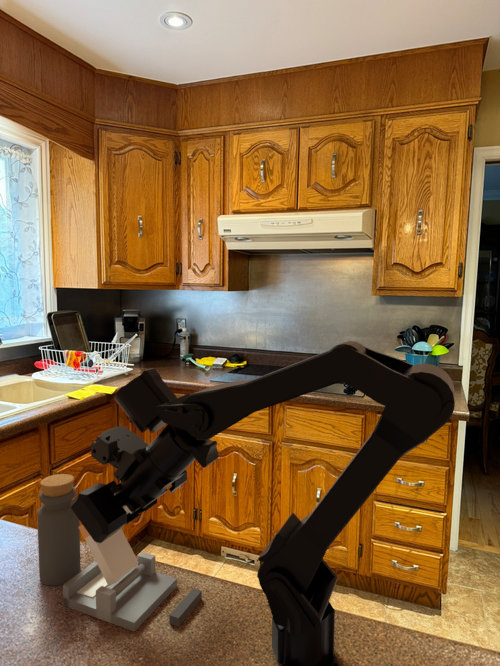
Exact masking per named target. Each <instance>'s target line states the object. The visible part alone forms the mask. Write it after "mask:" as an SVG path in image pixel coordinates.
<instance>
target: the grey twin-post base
mask: <svg viewBox="0 0 500 666" xmlns="http://www.w3.org/2000/svg"><path fill="white" fill-rule="evenodd" d="M137 560H138V562H139V563H138V564H137V565H136V566H135V567H134V568H132V569H131V570H130V571H129V572H128V573H127V574H125V575H124V576H123V577H122V578H121V579H120V580H118V581H117V582H116V583H114V584H112V585H110V586H108V584H107V582H106V580H105V578H104V576H103V574H102V572H101V570H100V568H99V566H98V564H97V562H96V560H94V561H93V562H92V563H90V564H89V565H88V566H86V567H85V568H84V569H82V570H80V573H78V574H77V575H76V576H74V577H73V578H72V579H70V580H69V581H68V582H66V583H65V584H62V599H63V600H62V602H63V603H62V605H63V606H64V607H66V608H68V609H72V610H74V611H77V612H78V613H79V612H80V613H82V614H85V615H88V616H90V617H93V618H95V619H99V620H100V621H101V620H102V621H104V622H107V623H110V624H113V625H114V626H118V627H121V628H124V629H126V630H129V631H131V632H136V630H138V628H140V626H141V625H142V624H143V623H144V622H145V621H146V620H147V619H148V618H149V617H150V616H151V615H152V614H153V613H154V612H155V610H156V609H157V608H158V607H159V606H160V605H161V604H162V603H163V602H164V601H165V600H166V599H167V598H168V596H169V595H171V594H172V593H173V592H174V590H175V589H176V588H178V578H176V577H173V576H170V575H167V574H164V573H160V572H156V554H155V555H154V554H151V553H148V552H144V551H142V552H140V553H139V554H138V555H137ZM140 564H144V565H145V568H146V570H145V571H144V572H143V573H142V574H141V575H140V576H139V577H138V578H137V579H135V580H134V581H133V582H132V583H131V584H130V585H129V586H128V587H127V588H125V589H124V590H123V591H122V592H121V593H120V594H119V595H118V596H117V597H116V590H113V589H112V588H113V587H114V586H115V585H117V584H118V583H119V582H120V581H121V580H122V579H124V578H125V577H126V576H127V575H128V574H129V573H130V572H132V571H133V570H134V569H135V568H136V567H137V566H139V565H140ZM164 599H165V600H164Z"/></svg>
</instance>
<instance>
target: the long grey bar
mask: <svg viewBox="0 0 500 666" xmlns="http://www.w3.org/2000/svg"><path fill="white" fill-rule="evenodd" d="M202 592H203V591H202V590H200V589H197V588H194V587H193V588H192V589H191V590H190V591H189V592H188V593H187V594H186V595H185V597H184V598H183V599H182V600H181V601H180V603H178V605H177V606H176V607H175V608H174V609H173V611H172V612H171V613H170V614H169V615H168V616H169V618H168V619H169V625H172V626H176V627H180V626H181V624H182V623H183V622H184V621H185V620H186V619H187V618H188V617H189V615H190V614H191V612H192V611H193V610H194V609H195V607H196V606H198V604H199V603H200V602H201V601H202V598H203V596H202V595H203V593H202Z"/></svg>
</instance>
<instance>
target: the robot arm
mask: <svg viewBox="0 0 500 666" xmlns="http://www.w3.org/2000/svg"><path fill="white" fill-rule="evenodd" d="M342 382H343V383H345V384H347V385H349V386H350V387H353V388H354V389H356V390H357V391H359V392H361V393H362V394H363V395H365V396H366V397H368V398H369V399H371V400H372V401H373V402H376V403H377V404H380V405H381V406H383V407H384V408H383V411H382V413H381V414H380V416H379V419H378V421H377V423H376V425H375V427H374V429H373V431H372V432H371V433H370V435H369V436H368V438H367V439H366V440H365V441H364V442H363V444H362V445H361V447H360V448H359V449H358V451H357V452H356V453H355V455H354V456H353V458H351V460H350V461H349V462H348V464H347V465H346V466H345V468H344V469H343V470H342V471H341V473H340V474H339V475H338V477H337V478H336V479H335V481H334V482H333V483H332V485H331V486H330V487H329V489H328V490H327V491H326V493H325V494H324V495H323V496H322V498H320V501H319V502H318V503H317V504H316V506H315V507H314V508H313V510H312V511H311V512H310V513H309V514H308V515H307V516H305V517H303V518H302V519H300V518H298V517H297V516H296V514H295V512H292V513H291V514H290V515H289V517H288V518H287V519H286V521H285V522H284V524H283V525H282V526H281V527H280V529H279V530H278V531H277V532H276V533H275V535H274V536H273V537H272V539H271V540H270V541H269V542H268V543H267V545H266V547H265V548H264V550H263V551H262V552H261V554H260V555H259V557H258V558H257V560H258V562H261V564H260V566H259V568H258V570H257V574H256V576H257V577H256V578H257V579H258V582H259V586H260V588H261V590H262V592H263V593H264V595H265V597H266V599H267V604H268V607H269V609H270V612H271V616H272V617H271V649H272V651H273V655H274V658H275V660H276V662H277V664H278V665H280V666H341V665H340V662H339V660H338V658H337V657H336V655H335V628H336V627H335V623H336V620H335V619H336V610H335V609H334V606H333V605H332V604H331V602H330V599H331V597H332V595H333V592H334V589H335V587H336V584H337V581H339V580H338V579H339V577H338V575H337V574H336V573H335V572H334V570H333V569H332V568H331V567H330V565H329V564H328V563H327V562H326V561H325V560H324V557H325V554H327V553H326V552H327V551H328V549H329V547H330V546H331V545H333V544H332V543H334V541H335V540H336V539H337V538H338V536H339V535H340V534H341V532H342V531H343V530H344V529H345V527H346V526H347V525H348V524H349V523H350V522H351V520H352V519H353V517H354V516H356V514H357V512H358V511H359V510H360V509H361V507H363V505H364V504H365V503H366V502H367V500H368V499H369V498H370V497H371V495H372V494H373V492H374V491H375V490H376V489H377V487H378V486H379V485H380V484H381V482H383V480H384V479H385V477H386V476H387V475H388V474H389V473H390V471H391V470H392V469H393V467H395V465H396V464H397V462H398V461H399V460H400V459H401V458H403V456H405V455H406V454H407V453H409V452H411V451H412V450H414V449H415V448H417V447H418V446H420V445H422V444H423V443H424V442H425V441H427V440H428V439H429V438H430V437H432V436H433V434H435V433H436V432H438V431H439V430H440V429H441V428H442V427H443V426H445V425H446V424H447V423H448V422H449V421H450V419H451V418H452V415H453V413H454V411H455V407H456V406H455V404H456V403H455V402H456V401H455V399H456V396H455V388H454V387H455V386H454V382H453V380H452V378H451V377H450V375H449V374H448V373H447V372H446V371H445V370H444V369H443V368H441V367H439V366H437V365H434V364H430V363H419V364H412V363H409V362H407V361H405V360H403V359H400V358H398V357H394V356H391V355H388V354H385V353H383V352H379V351H376V350H373V349H372V348H369V347H367V346H364V345H363V344H361V343H359V342H358V341H352V340H347V341H343V342H341V343H339V344H337V345H335V346H333V347H332V348H331V349H329V350H327V351H323V352H322V353H317V354H316V355H313V356H310V357H309V358H305V359H303V360H301V361H298V362H295V363H293V364H290V365H287V366H285V367H283V368H280V369H277V370H275V371H272V372H269V373H267V374H264V375H261V376H259V377H256V378H252V379H246V380H238V381H230V382H224V383H220V384H215V385H212V386H209V387H207V388H204V389H202V390H199V391H197V392H194V393H187V394H184V395H182V396H179V397H177V395H176V393H174V392H173V391H172V390H171V389H170V387H169V385H167V383H166V382H165V381H164V379H163V378H162V377H161V374H160V373H159V372H158V370H157V369H155V368H153V367H151V368H148V369H144V371H142V373H141V374H140V375H138V376H136V377H135V378H133V379H132V380H130V381H129V382H128V383H127V384H125V385H124V386H121V387H120V388H119V389H118V390H117V392H116V393H115V395H114V401H115V402H116V403H117V405H118V406H119V407H120V409H122V411H123V412H124V413H125V415H126V416H127V417H128V418H129V419H130V421H131V422H132V423H133V425H134V426H135V428H137V430H138V431H139V432H141V434H143V433H144V432H146V431H147V430H148V431H149V432H150V433H151V434H153V433H156V432H157V431H159V430H160V429H162V428H163V429H162V430H161V431H160V432H159V433H158V434H157V436H156V437H154V439H153V440H152V441H151V442H150V443H149V444H148V443H147V442H145V440H144V439H143V438H142V437H140V436H139V435H137V433H135V432H133V431H132V430H130V429H129V428H127V427H125V426H122V425H119V426H114V427H113V428H110V429H108V430H106V431H103V432H102V433H101V434H100V435H98V436H97V437H96V439H95V441H93V442H91V444H90V445H91V446H90V447H91V449H90V454H91V457H92V458H93V459H94V460H96V461H97V462H99V463H100V464H101V465H102V466H105V465H107V464H108V465H110V466H111V467H113V468H115V469H116V470H115V471H114V472H113V476H114V477H115V478H116V480H117V481H118V482H120V483H118V484H117V482H116V481H115V480H112V481H110V482H108V483H105V484H104V483H101V482H98V483H96V484H93V485H92V486H90V487H87V488H86V489H84V490H82V491H81V492H78V494H76V496H75V497H74V498H73V499H72V500H73V501H72V502H71V509H72V510H73V512H74V513H75V515H76V516H77V517H78V519H79V523H81V525H82V524H83V526H84V527H85V529H86V530H87V532H88V533H89V534H90V536H91V537H92V539H93V540H94V541H95V542H98V543H102V542H103V541H105V540H106V539H107V538H109V537H110V536H112V535H113V534H114V533H116V532H117V531H118V530H119V529H120V528H121V529H122V528H123V527H124V526H125V525H128V524H130V523H131V522H133V521H135V520H136V518H139V517H140V516H141V515H140V514H141V513H144V512H146V511H148V510H150V509H151V508H153V507H154V506H155V505H157V504H158V499H159V498H160V497H162V496H164V494H165V493H166V492H169V493H170V494H173V492H176V490H178V489H180V488H181V487H182V486H183V485H184V484H185V483H186V482H187V481H188V471H187V470H186V469H187V468H189V466H190V465H191V464H192V463H193V462H194V461H195V460H196V462H197V463H198V464H199V465H200V466H201V467H202V468H207V467H208V466H209V465H211V464H212V463H214V462H215V461H217V460H218V459H219V451H218V447H217V445H218V441H217V440H212V438H213V437H215V436H217V435H219V434H221V433H222V432H223V431H225V430H227V429H228V428H230V427H232V426H234V425H236V424H237V423H239V422H241V421H243V420H244V419H245V418H247V417H249V416H251V415H252V414H254V413H257V412H259V411H263V410H265V409H268V408H271V407H273V406H276V405H280V404H282V403H285V402H287V401H290V400H293V399H296V398H298V397H299V398H300V397H302V396H305V395H308V394H310V393H312V392H316V391H318V390H322V389H323V388H326V387H331V386H332V385H335V384H339V383H342ZM165 425H166V426H165ZM169 486H170V488H169ZM167 488H169V489H167Z"/></svg>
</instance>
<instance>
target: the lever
mask: <svg viewBox="0 0 500 666" xmlns="http://www.w3.org/2000/svg"><path fill="white" fill-rule="evenodd" d="M78 528H79V530H80V535H81V536H82V537H83V539H84V540H85V542H86V544H87V546H88V548H89V550H90V552H91V554H92V557H93V558H94V561H96V562H97V564H98V566H99V568H100V570H101V572H102V574H103V576H104V578H105V580H106V582H107V584H108V586H110V585H112V584H114V583H116V582H117V581H118V580H120V579H121V578H122V577H123V576H124V575H125V574H127V573H128V572H129V571H130V570H131V569H132V568H134V567H135V566H137V567H136V568H135V569H134V570H133V571H132V572H130V573H129V574H128V575H127V576H126V577H125V578H124V579H122V580H121V581H120V582H119V583H118V584H117V585H115V586H114V587H113V588H112V589H113V590H116V597H117V596H118V595H119V594H120V593H121V592H122V591H123V590H124V589H125V588H127V587H128V586H129V585H130V584H131V583H132V582H133V581H134V580H135V579H137V578H138V577H139V576H140V575H141V574H142V573H143V572H144V571H145V570H146V568H145V565H144V564H140V565H139V566H138V563H139V562H138V557H136V554H135V553H134V551H133V549H132V546H131V545H130V542H129V541H128V538H127V537H126V535H125V533H124V531H123V529H122V528H120V529H119V530H118V531H117V532H116V533H114V534H113V535H112V536H110V537H109V538H107V539H106V540H105V541H103V542H102V543H98V542H95V541H94V540H93V539H92V537H91V536H90V534H89V533H88V532H87V530H86V529H85V527H84V526H83V524H82V523H81V525H80V526H79V527H78Z"/></svg>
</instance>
